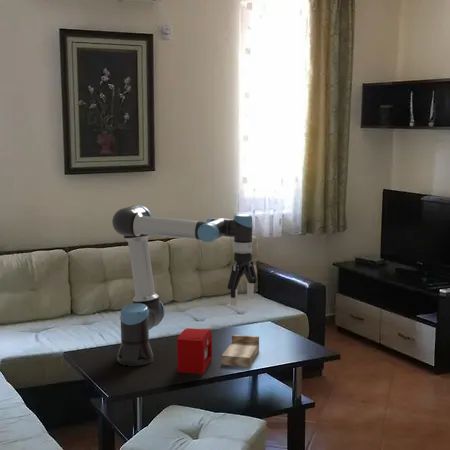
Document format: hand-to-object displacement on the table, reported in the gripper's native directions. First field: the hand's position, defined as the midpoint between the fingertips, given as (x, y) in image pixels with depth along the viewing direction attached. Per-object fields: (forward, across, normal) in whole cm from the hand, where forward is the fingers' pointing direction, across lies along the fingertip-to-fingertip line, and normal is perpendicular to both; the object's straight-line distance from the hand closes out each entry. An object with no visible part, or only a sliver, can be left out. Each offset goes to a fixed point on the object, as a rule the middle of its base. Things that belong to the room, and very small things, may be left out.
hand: (242, 301), depth 289 cm
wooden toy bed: (+26, +2, +2) cm, 26 cm away
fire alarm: (+26, -17, +12) cm, 33 cm away
